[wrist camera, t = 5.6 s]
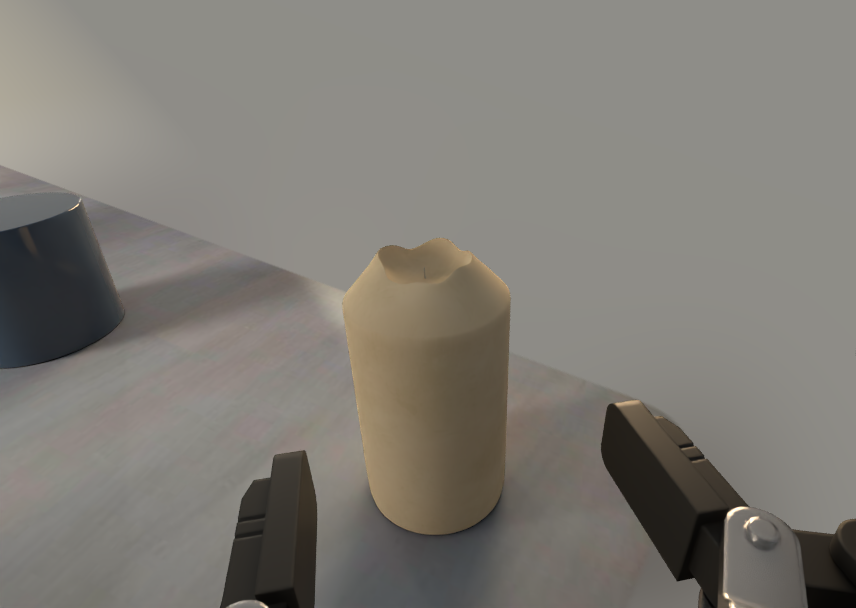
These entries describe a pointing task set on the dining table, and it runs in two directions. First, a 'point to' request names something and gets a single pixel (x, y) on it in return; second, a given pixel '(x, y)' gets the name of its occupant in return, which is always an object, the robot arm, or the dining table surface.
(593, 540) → the dining table surface
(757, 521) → the robot arm
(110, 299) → the mug
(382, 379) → the candle
